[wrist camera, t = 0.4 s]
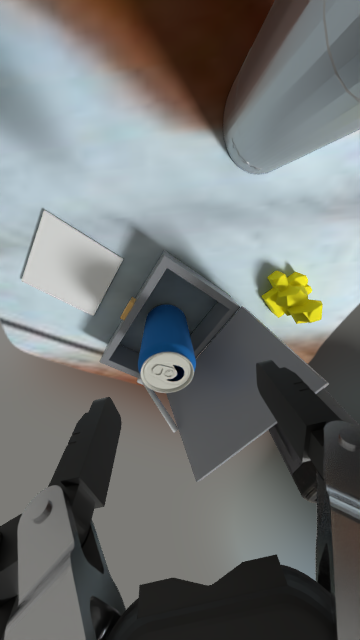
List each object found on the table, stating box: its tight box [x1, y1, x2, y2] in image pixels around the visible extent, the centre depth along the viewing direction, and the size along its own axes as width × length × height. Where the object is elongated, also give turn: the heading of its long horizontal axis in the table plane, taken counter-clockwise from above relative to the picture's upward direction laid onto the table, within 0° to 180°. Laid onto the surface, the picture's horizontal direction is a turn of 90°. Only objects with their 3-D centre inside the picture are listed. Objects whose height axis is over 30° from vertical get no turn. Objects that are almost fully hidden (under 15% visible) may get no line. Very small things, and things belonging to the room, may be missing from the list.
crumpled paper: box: [261, 270, 323, 324], centre depth 26 cm, size 6×8×8 cm
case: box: [100, 250, 329, 481], centre depth 24 cm, size 19×17×16 cm
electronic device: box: [269, 388, 360, 503], centre depth 26 cm, size 9×6×20 cm, turn 77°
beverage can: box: [138, 304, 196, 393], centre depth 25 cm, size 6×6×12 cm
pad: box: [21, 210, 123, 316], centre depth 25 cm, size 10×10×1 cm
